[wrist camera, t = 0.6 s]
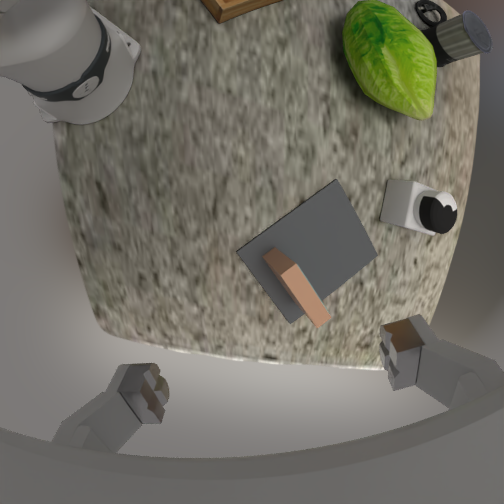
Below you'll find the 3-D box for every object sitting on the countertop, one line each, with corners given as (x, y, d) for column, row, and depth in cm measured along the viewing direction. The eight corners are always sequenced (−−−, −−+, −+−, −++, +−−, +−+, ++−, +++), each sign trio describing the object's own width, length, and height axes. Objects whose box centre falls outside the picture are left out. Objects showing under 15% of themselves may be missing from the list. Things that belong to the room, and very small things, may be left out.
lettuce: (428, 104, 49) (373, 138, 50) (368, 7, 42) (304, 32, 43) (477, 98, 35) (418, 137, 36) (404, -23, 28) (330, -3, 29)
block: (262, 256, 49) (280, 275, 39) (275, 246, 49) (297, 262, 40) (294, 302, 52) (317, 328, 42) (307, 292, 52) (332, 316, 43)
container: (408, 228, 54) (456, 242, 42) (378, 220, 52) (426, 233, 40) (417, 190, 53) (465, 195, 41) (387, 178, 51) (436, 181, 39)
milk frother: (431, 72, 48) (482, 58, 34) (391, 10, 44) (435, -17, 29) (460, 56, 49) (505, 43, 35) (424, 0, 44) (465, -21, 30)
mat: (236, 251, 48) (236, 252, 48) (335, 179, 49) (337, 179, 49) (289, 323, 53) (290, 324, 53) (376, 254, 54) (377, 255, 53)
